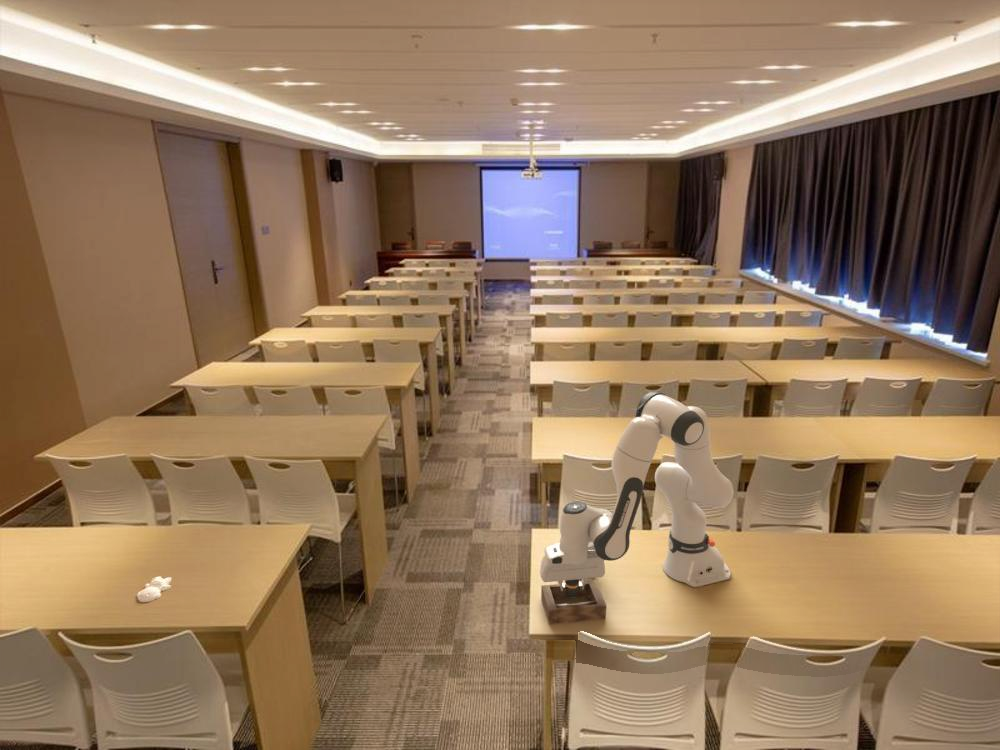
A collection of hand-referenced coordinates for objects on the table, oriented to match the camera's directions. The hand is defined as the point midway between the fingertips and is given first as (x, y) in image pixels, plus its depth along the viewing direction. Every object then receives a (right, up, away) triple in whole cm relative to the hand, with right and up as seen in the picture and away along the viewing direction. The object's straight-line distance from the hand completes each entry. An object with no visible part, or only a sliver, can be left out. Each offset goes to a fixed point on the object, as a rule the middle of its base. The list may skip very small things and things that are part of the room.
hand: (571, 589), depth 192 cm
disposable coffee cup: (+6, 0, +20) cm, 20 cm away
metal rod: (+1, -4, -3) cm, 5 cm away
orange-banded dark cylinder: (0, -1, +1) cm, 2 cm away
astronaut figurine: (-138, -5, +11) cm, 139 cm away
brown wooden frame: (0, -6, +1) cm, 6 cm away
